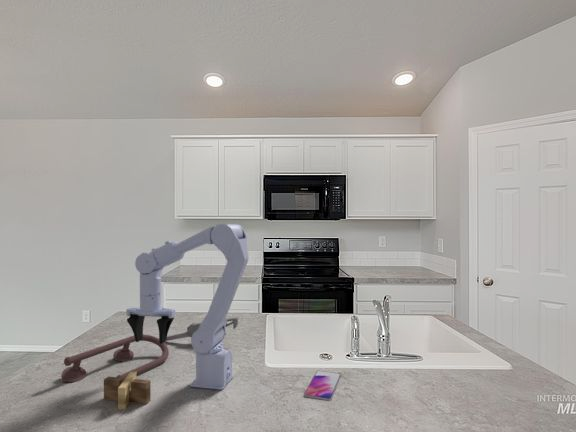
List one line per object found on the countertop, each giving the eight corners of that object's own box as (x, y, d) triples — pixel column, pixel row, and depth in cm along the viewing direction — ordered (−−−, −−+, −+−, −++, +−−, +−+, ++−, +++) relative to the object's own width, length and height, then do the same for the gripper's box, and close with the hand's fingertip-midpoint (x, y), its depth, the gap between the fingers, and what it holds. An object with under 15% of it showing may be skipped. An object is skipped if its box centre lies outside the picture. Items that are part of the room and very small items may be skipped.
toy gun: (239, 341, 123) (235, 313, 123) (157, 349, 128) (154, 322, 128) (241, 339, 125) (237, 312, 125) (160, 347, 129) (156, 321, 130)
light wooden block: (130, 391, 90) (130, 371, 91) (136, 390, 91) (136, 371, 91) (118, 409, 82) (117, 388, 82) (125, 409, 82) (125, 387, 82)
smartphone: (341, 373, 99) (331, 399, 84) (341, 376, 99) (331, 402, 84) (316, 369, 101) (302, 394, 87) (316, 372, 101) (302, 397, 87)
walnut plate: (150, 400, 85) (150, 380, 86) (146, 404, 84) (146, 383, 84) (108, 396, 88) (108, 376, 88) (103, 399, 86) (103, 379, 86)
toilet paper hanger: (95, 390, 88) (60, 352, 95) (88, 413, 89) (54, 373, 97) (179, 352, 113) (146, 324, 121) (173, 371, 114) (141, 342, 122)
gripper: (180, 292, 102) (181, 338, 102) (137, 290, 105) (137, 335, 105) (167, 297, 95) (167, 347, 95) (121, 295, 98) (121, 343, 98)
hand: (150, 341), depth 99 cm, fingers open, 7 cm apart
